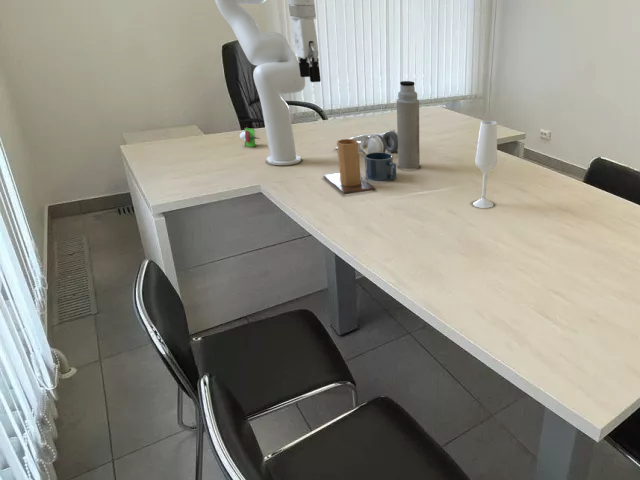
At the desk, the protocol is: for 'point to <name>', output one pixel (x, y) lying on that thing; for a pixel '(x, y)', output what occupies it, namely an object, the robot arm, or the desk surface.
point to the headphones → (377, 142)
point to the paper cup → (349, 162)
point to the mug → (380, 166)
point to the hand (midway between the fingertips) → (310, 79)
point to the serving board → (335, 181)
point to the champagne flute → (486, 156)
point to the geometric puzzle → (248, 137)
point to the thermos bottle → (408, 126)
